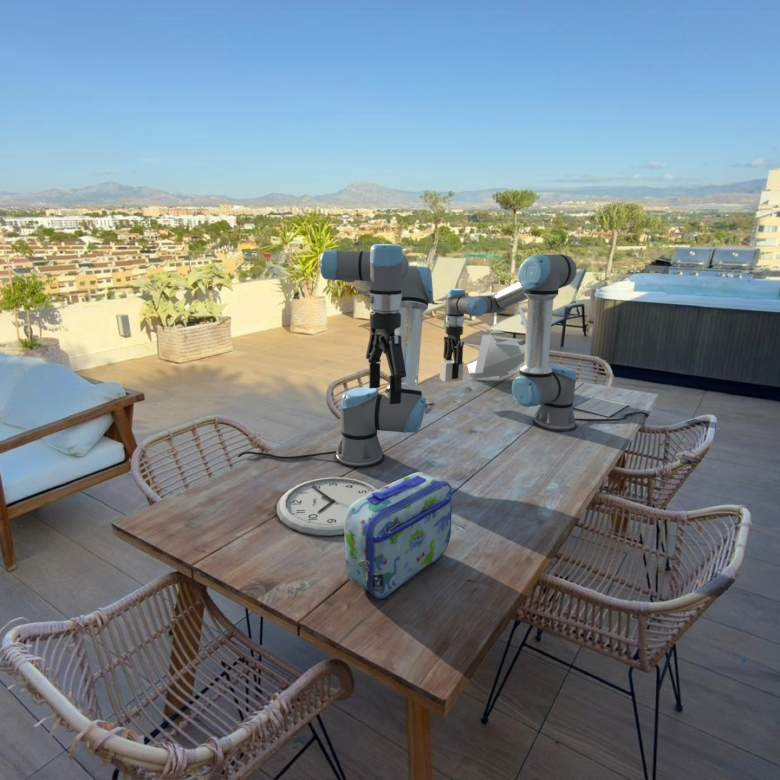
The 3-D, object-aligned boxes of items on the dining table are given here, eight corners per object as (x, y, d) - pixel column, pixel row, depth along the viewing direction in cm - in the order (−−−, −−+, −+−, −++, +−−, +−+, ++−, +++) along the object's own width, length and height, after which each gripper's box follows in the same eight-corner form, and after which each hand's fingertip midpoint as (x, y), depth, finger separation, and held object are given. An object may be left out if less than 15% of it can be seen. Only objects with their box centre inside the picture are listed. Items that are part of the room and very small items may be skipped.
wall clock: (392, 527, 129) (268, 531, 127) (391, 533, 130) (269, 537, 127) (383, 473, 158) (282, 475, 155) (383, 478, 158) (282, 480, 156)
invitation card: (608, 416, 214) (573, 407, 224) (608, 416, 214) (573, 408, 224) (628, 404, 229) (594, 396, 238) (628, 405, 229) (594, 397, 238)
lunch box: (372, 611, 103) (373, 518, 97) (338, 585, 111) (336, 497, 104) (455, 557, 121) (460, 475, 115) (420, 537, 128) (424, 459, 122)
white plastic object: (488, 421, 263) (468, 398, 238) (469, 347, 285) (449, 320, 260) (560, 397, 251) (547, 370, 226) (534, 322, 273) (519, 290, 248)
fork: (417, 411, 216) (418, 406, 216) (428, 400, 231) (428, 395, 230) (423, 412, 215) (424, 407, 215) (434, 400, 230) (434, 396, 229)
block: (439, 379, 234) (440, 361, 231) (456, 377, 237) (457, 359, 235) (445, 382, 229) (446, 363, 227) (462, 380, 233) (463, 362, 230)
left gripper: (353, 304, 135) (354, 383, 141) (391, 320, 113) (389, 412, 119) (380, 303, 138) (379, 380, 144) (422, 318, 116) (419, 408, 122)
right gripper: (437, 322, 232) (434, 372, 239) (457, 329, 217) (454, 383, 224) (451, 321, 235) (449, 371, 242) (473, 328, 220) (469, 381, 227)
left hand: (384, 395), depth 132 cm, fingers open, 13 cm apart
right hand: (451, 376), depth 233 cm, fingers closed on block, 5 cm apart
